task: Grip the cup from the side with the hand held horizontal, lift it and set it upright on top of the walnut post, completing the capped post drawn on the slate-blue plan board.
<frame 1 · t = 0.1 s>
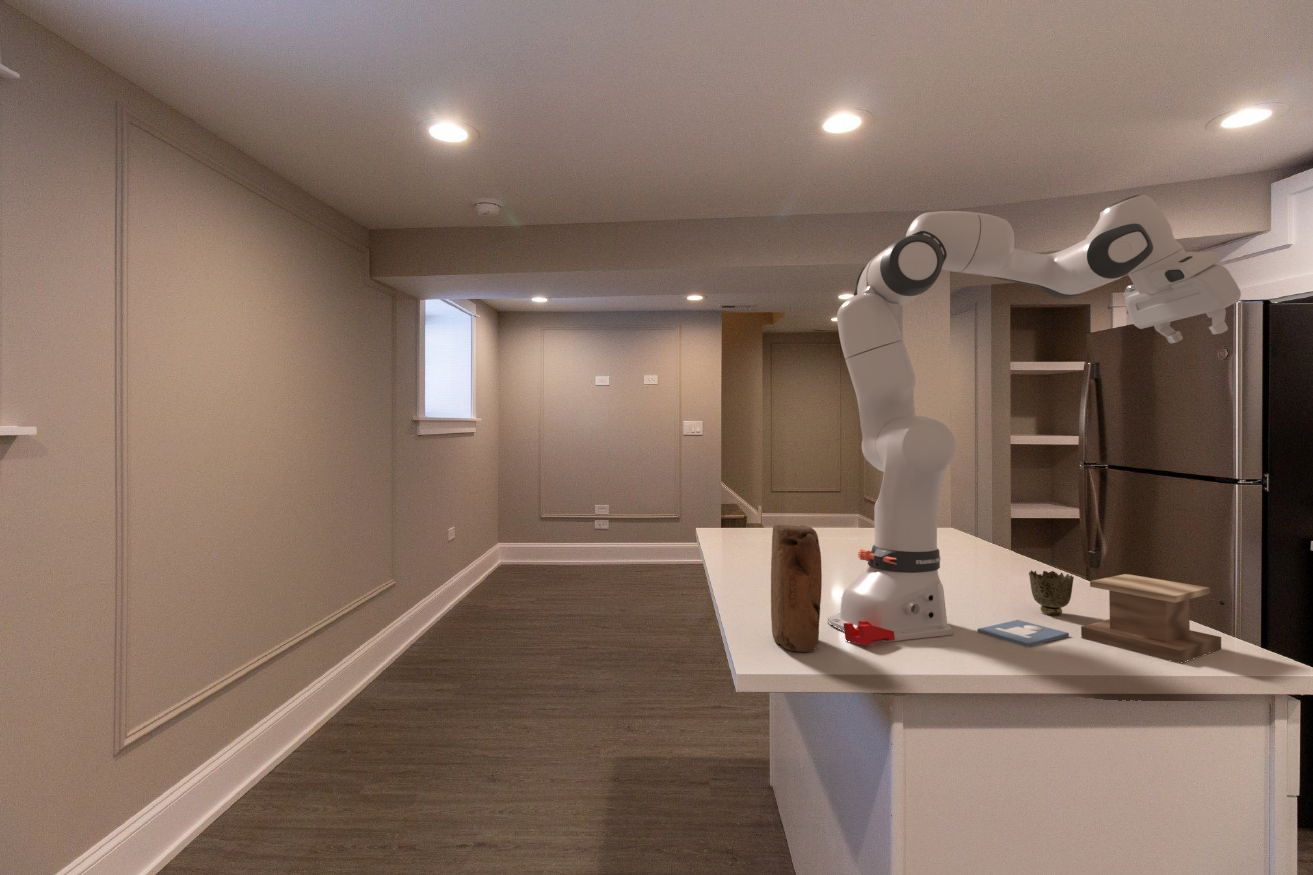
hand: (1198, 337, 114), 54 cm above the table, tool tilted 30°, fingers open, 8 cm apart
plan board: (1022, 634, 106), on the table
block: (796, 645, 101), on the table
bracket: (870, 641, 102), on the table, touching arm
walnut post: (1149, 643, 101), on the table
cup: (1051, 614, 119), on the table
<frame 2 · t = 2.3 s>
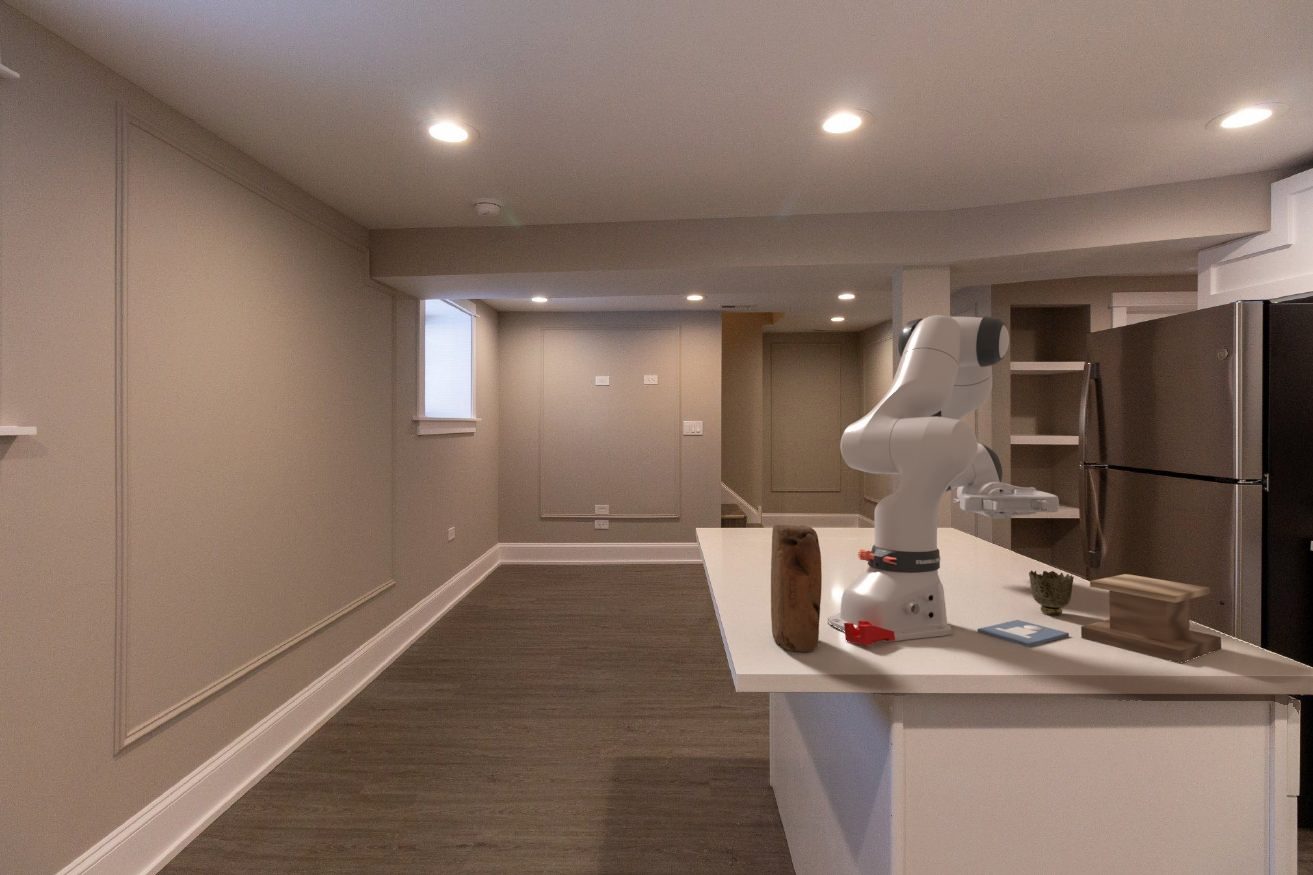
hand: (1022, 506, 131), 20 cm above the table, tool horizontal, fingers open, 8 cm apart
nothing on the table moved.
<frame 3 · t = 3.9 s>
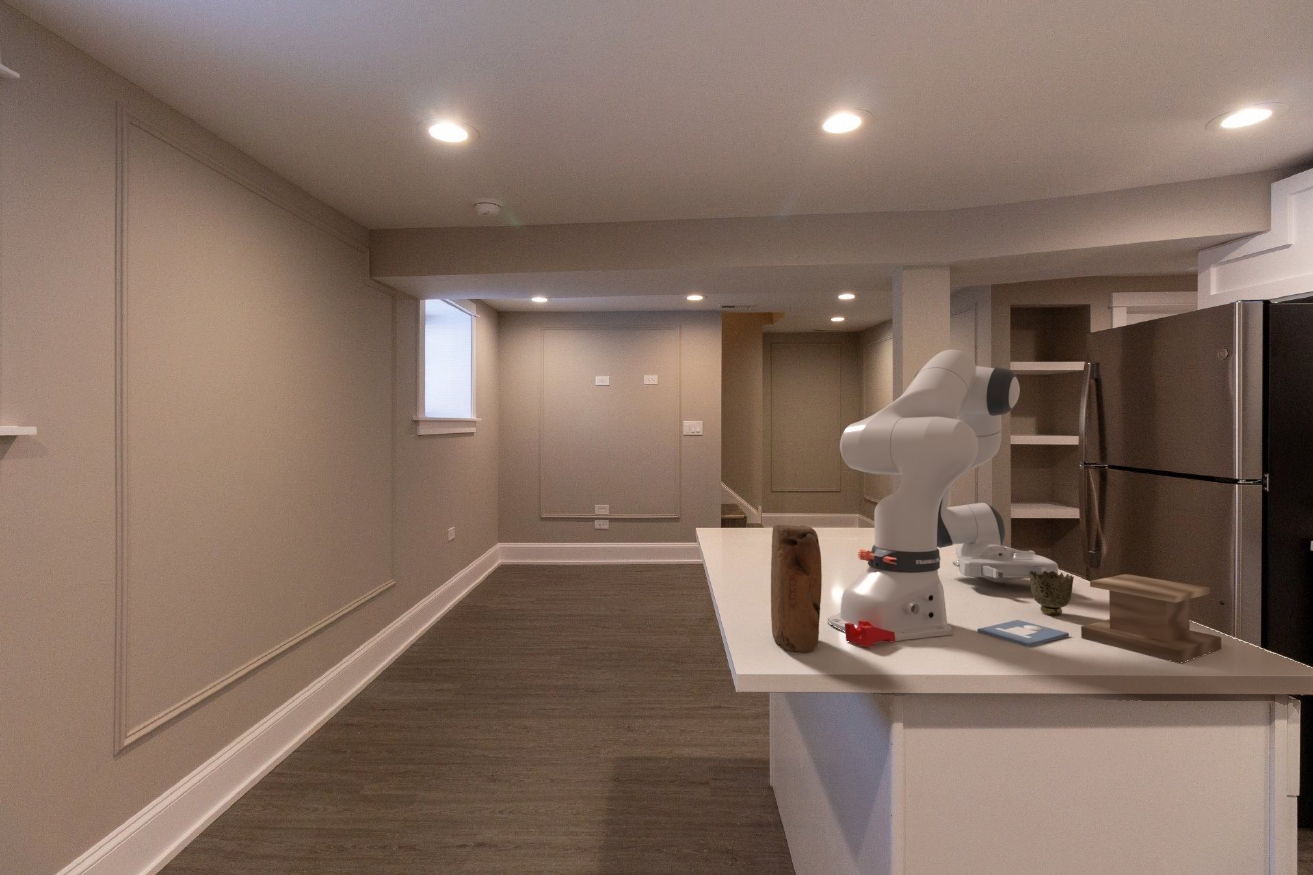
hand: (1022, 574, 131), 5 cm above the table, tool horizontal, fingers open, 8 cm apart
bracket: (870, 642, 102), on the table, touching arm
everything else where it was.
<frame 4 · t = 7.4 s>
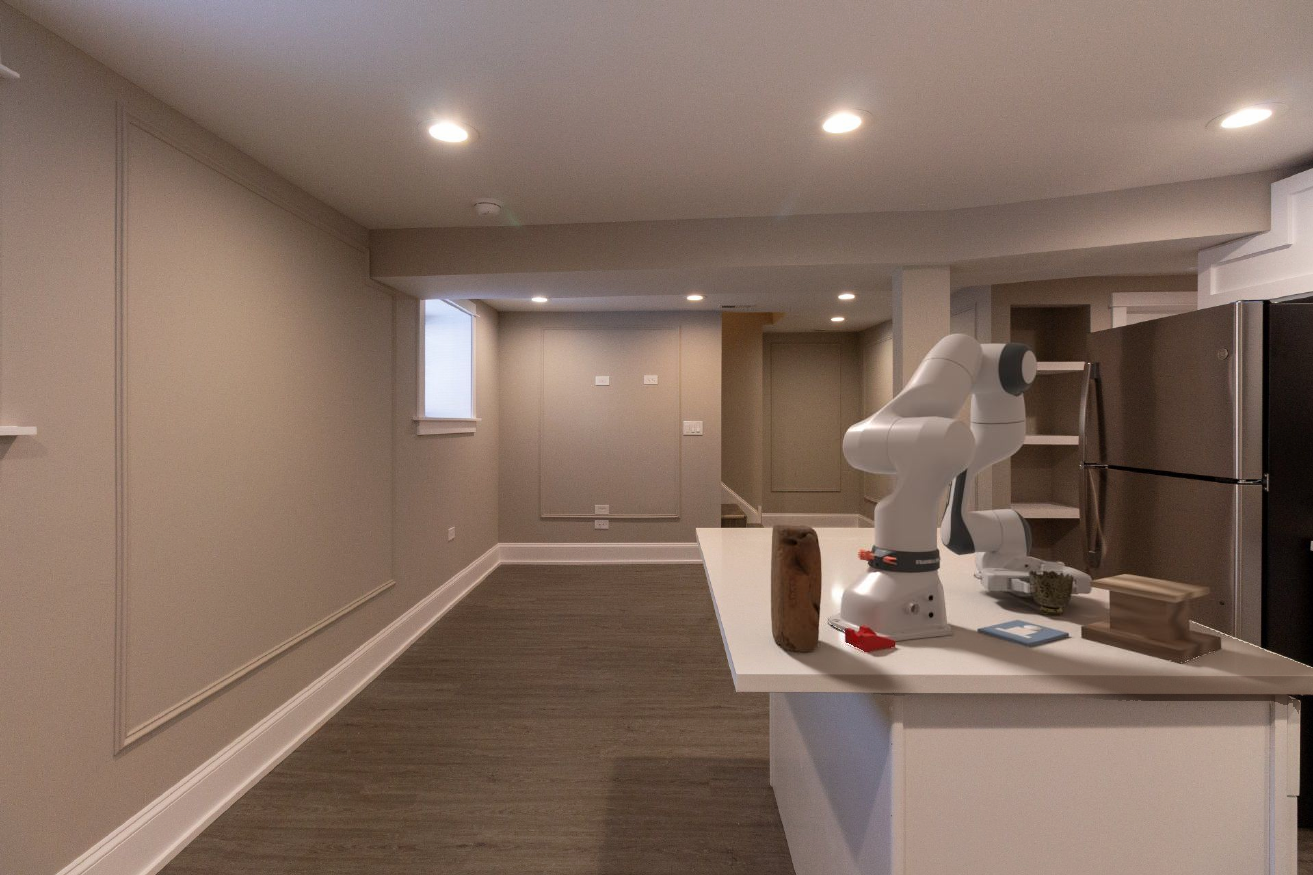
hand: (1053, 589, 118), 5 cm above the table, tool horizontal, fingers closed on cup, 7 cm apart
bracket: (869, 648, 101), on the table
cup: (1051, 614, 119), on the table, touching gripper
everything else where it was.
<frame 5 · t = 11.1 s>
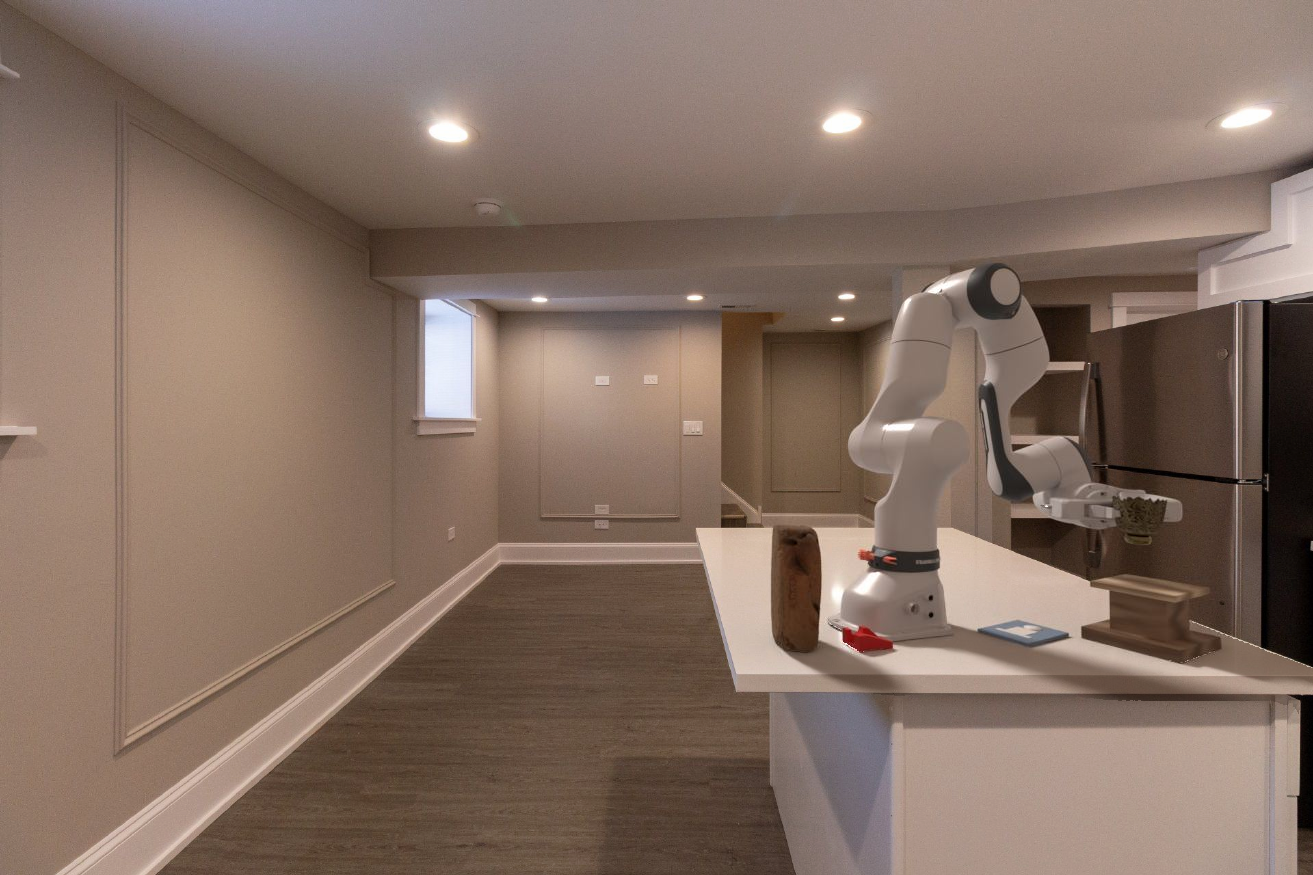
hand: (1141, 513, 102), 22 cm above the table, tool horizontal, fingers closed on cup, 7 cm apart
cup: (1137, 544, 103), point 16 cm above the table, touching gripper
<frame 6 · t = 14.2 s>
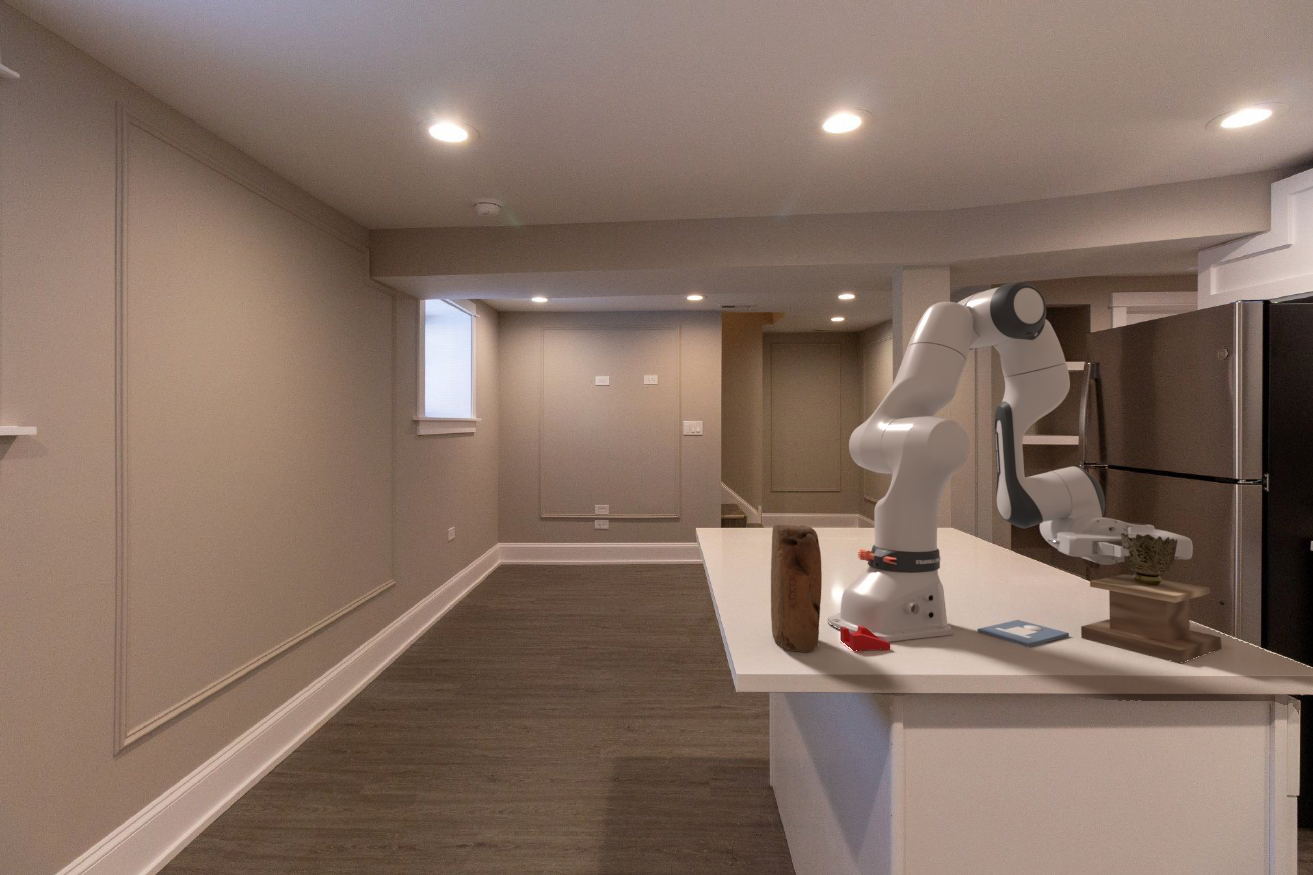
hand: (1151, 553, 101), 15 cm above the table, tool horizontal, fingers closed on cup, 7 cm apart
cup: (1147, 584, 101), point 10 cm above the table, touching gripper
when the fingers open (15 cm above the table, at t = 15.3 s): cup moves 1 cm, resting on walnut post.
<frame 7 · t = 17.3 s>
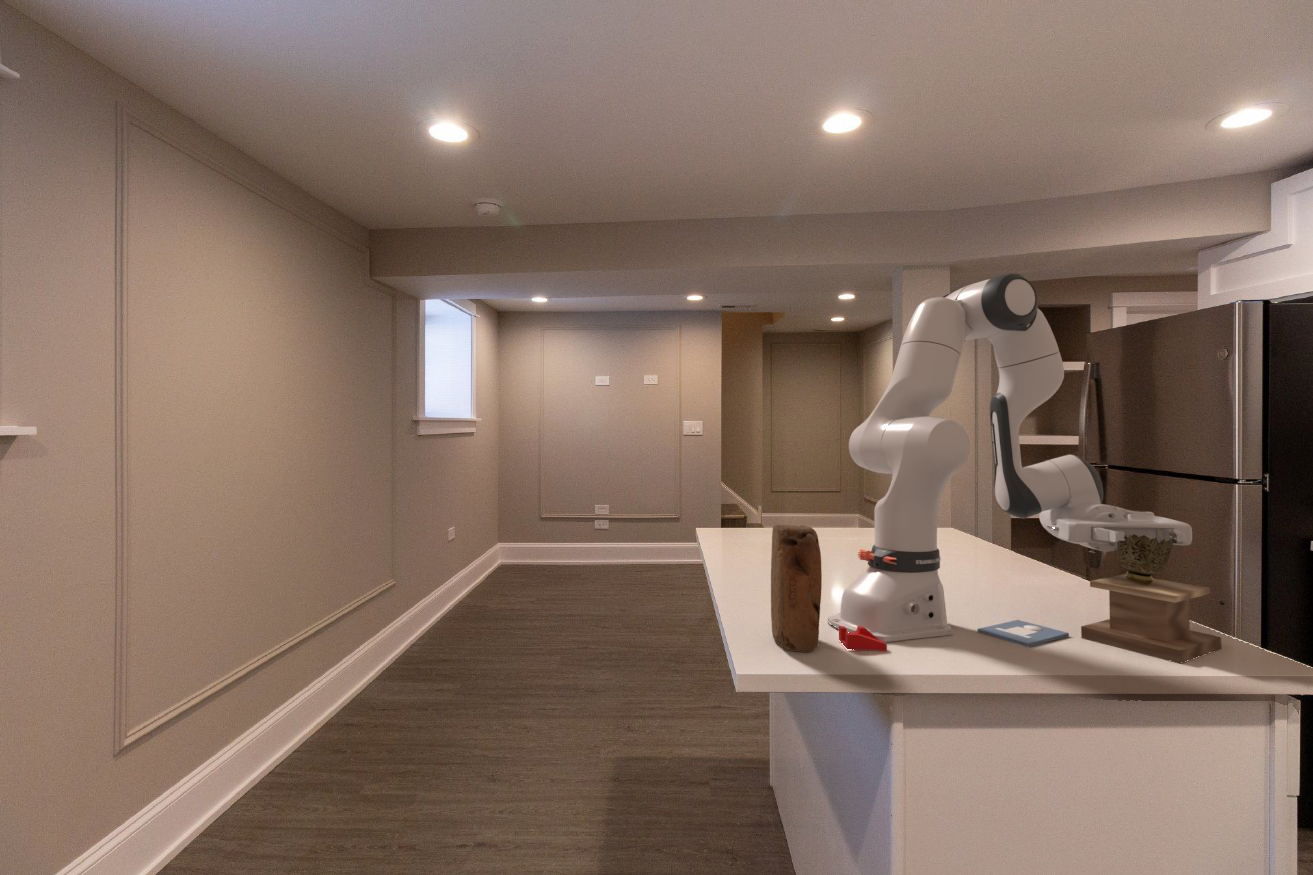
hand: (1150, 538, 101), 18 cm above the table, tool horizontal, fingers open, 8 cm apart
cup: (1138, 583, 102), point 10 cm above the table, touching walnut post
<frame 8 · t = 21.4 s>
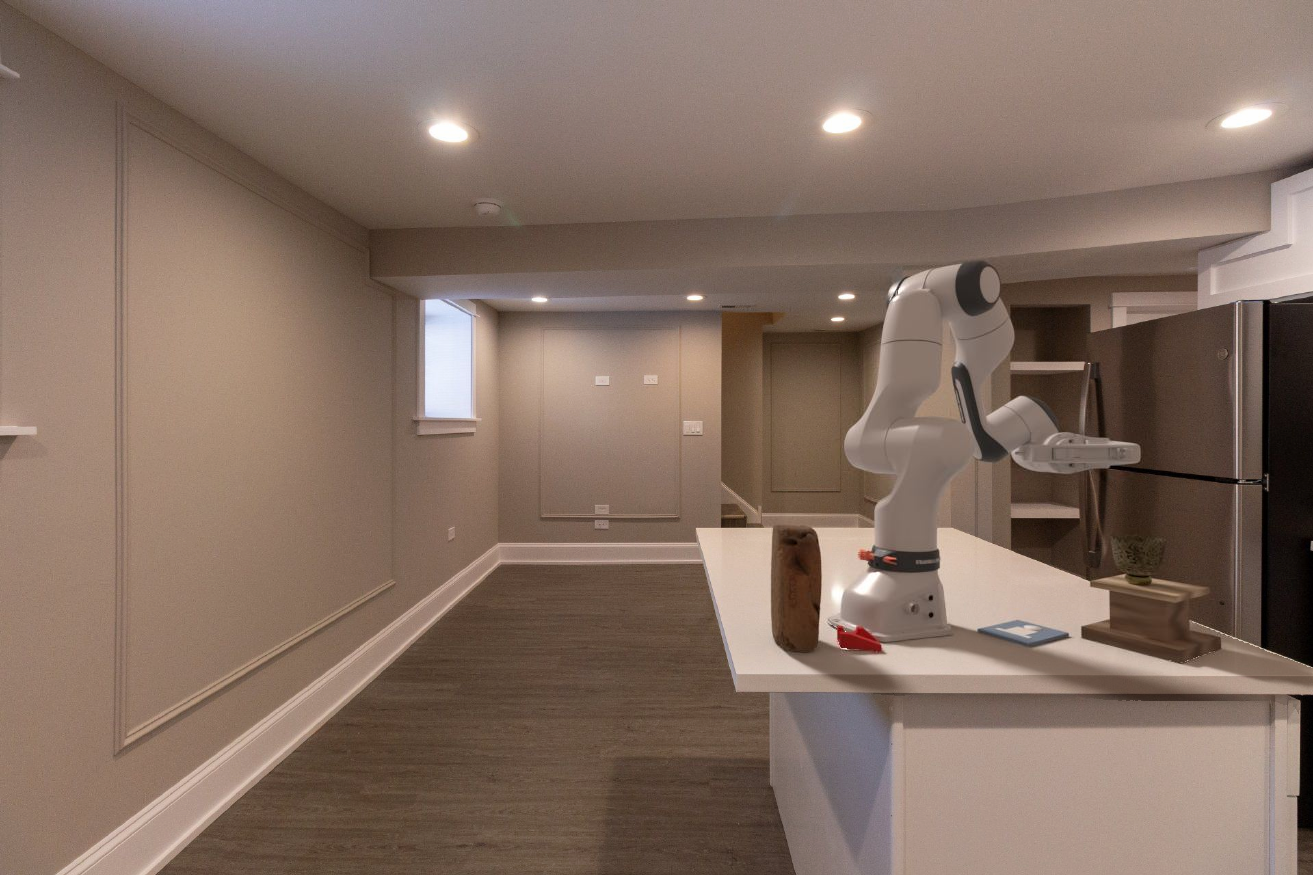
hand: (1102, 453, 114), 32 cm above the table, tool horizontal, fingers open, 8 cm apart
at the end: cup 1.5 cm from the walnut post (horizontally); cup point 9.8 cm above the table; cup tilted 1° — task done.
